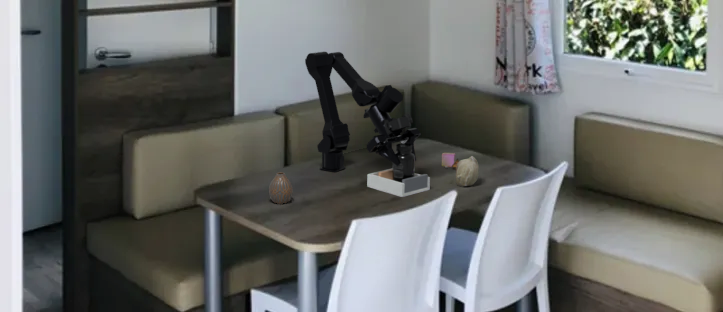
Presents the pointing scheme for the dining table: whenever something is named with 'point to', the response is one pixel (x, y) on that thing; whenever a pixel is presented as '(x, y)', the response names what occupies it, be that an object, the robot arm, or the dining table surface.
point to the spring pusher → (386, 174)
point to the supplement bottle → (404, 163)
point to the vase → (280, 189)
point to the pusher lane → (399, 184)
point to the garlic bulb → (467, 172)
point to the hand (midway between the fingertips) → (406, 162)
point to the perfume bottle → (449, 160)
